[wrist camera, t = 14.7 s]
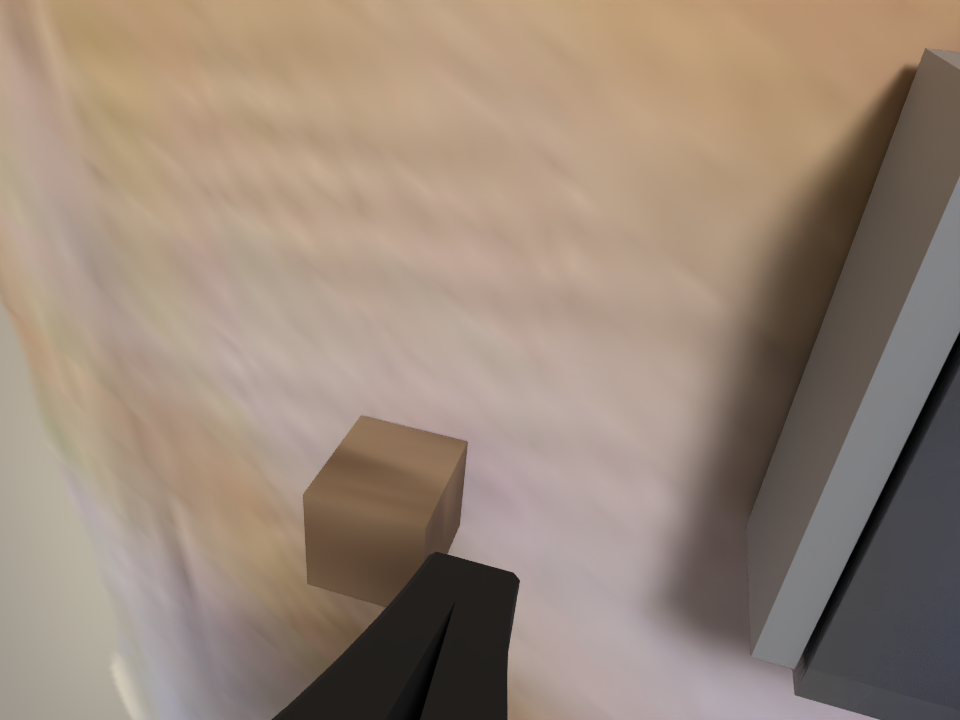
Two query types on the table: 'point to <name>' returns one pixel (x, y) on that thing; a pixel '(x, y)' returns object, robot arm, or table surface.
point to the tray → (863, 371)
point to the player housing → (900, 585)
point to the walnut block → (382, 509)
